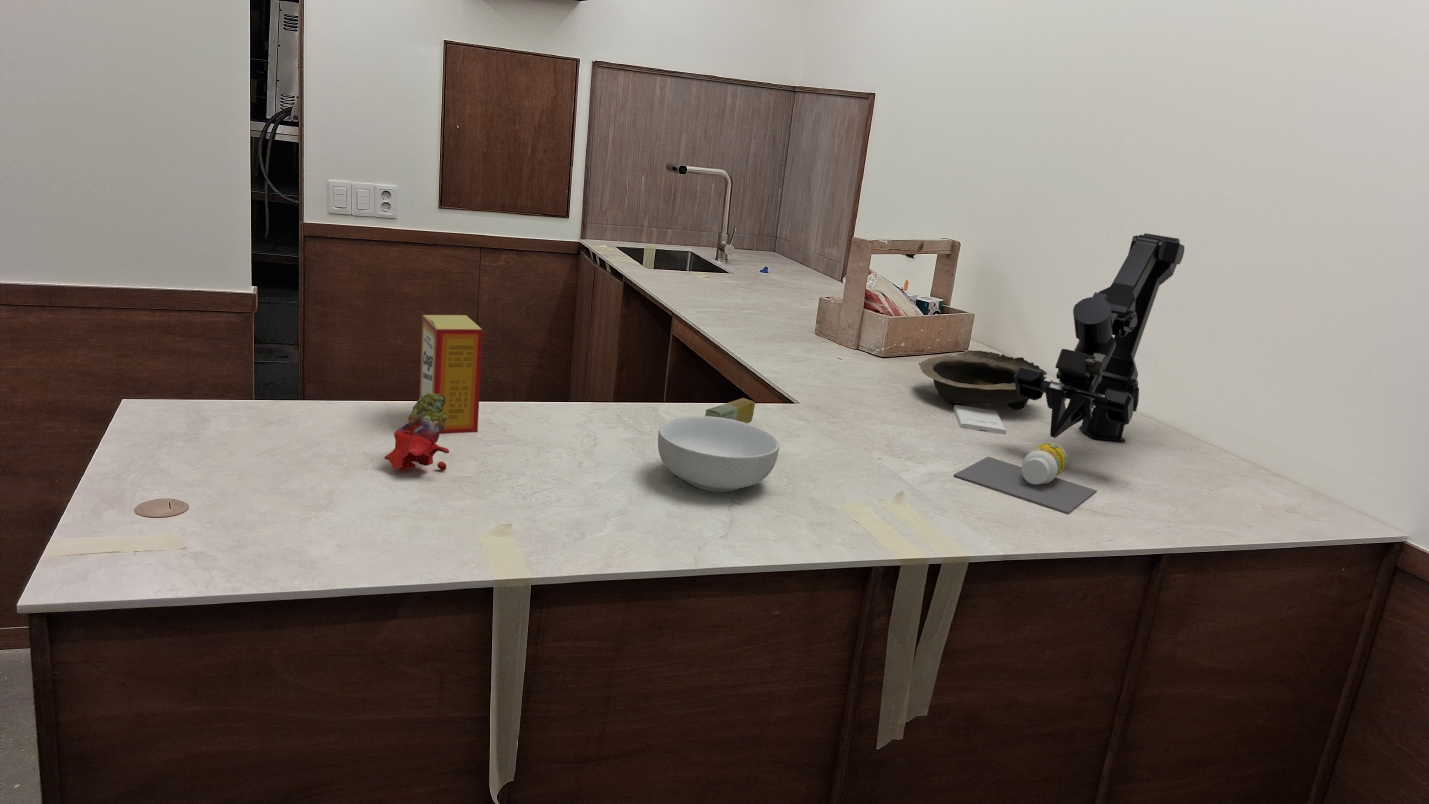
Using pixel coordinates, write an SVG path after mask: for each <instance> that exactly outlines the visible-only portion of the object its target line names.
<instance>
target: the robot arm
mask: <svg viewBox="0 0 1429 804" xmlns="http://www.w3.org/2000/svg"><path fill="white" fill-rule="evenodd" d="M1185 250H1186V249H1185V245H1183V244H1181V241H1180V238H1176V237H1171V236H1164V235H1158V234H1152V233H1147V232H1145V233H1143V234H1139V235H1138V234H1137V235H1133V236H1132V239H1131V243H1130V246H1129V249H1128V254H1127V256H1126V258H1125V259H1124V261H1123V263H1122V265H1121V267H1120V269H1119V270H1118V272H1117V274H1116V276H1115V277H1114V279H1113V281H1112V283H1111V285H1110V286H1108V287H1107V288H1104V289H1101V290H1099V291H1098V292H1096V291H1095V292H1094V293H1093V294H1092V296H1090V297H1086V298H1082V299H1080V301H1078V302H1077V303H1075V304H1074V306H1073V309H1072V315H1073V325H1074V333H1075V338H1076V339H1077V340H1078V341H1077V344H1076V345H1075V347H1074V350H1071V349H1066V348H1061V350H1060V352H1059V356H1058V359H1057V361H1056V364H1055V367H1054V368H1055V369H1057V371H1056V373H1055V375H1056V376H1055V377H1056V379H1058V380H1055V379H1050V380H1049V381H1048V380H1046V379H1045V380H1044V377H1045V375H1044V376H1043V371H1039V370H1035V369H1031V368H1027V367H1021V368H1019V369H1018V370H1017V372H1016V374H1015V376H1014V381H1015V386H1016V391H1017V394H1018V395H1019V396H1020V397H1024V398H1027V399H1029V400H1032V401H1037V400H1041V399H1042V397H1043V396H1044V394H1045V399H1046V406H1047V408H1048V409H1050V410H1051V418H1050V419H1051V420H1050V429H1049V430H1050V433H1049V435H1050V437H1052V438H1054V439H1056V438H1057V437H1059V436H1060V435H1062V434H1063V433H1064V432H1066V431H1067V430H1069V429H1070V428H1072V426H1074V425H1076V424H1078V423H1079V422H1081V421H1082V422H1081V425H1079V430H1081V431H1082V432H1083V433H1085V434H1086V435H1088V437H1090V438H1091V439H1094V440H1104V441H1114V442H1123V443H1125V442H1126V438H1125V437H1123V434H1124V433H1123V432H1124V428H1125V426H1126V425H1129V424H1130V421H1131V420H1132V418H1133V415H1134V412H1137V409H1138V406H1139V399H1140V398H1139V397H1140V387H1139V380H1138V377H1139V372H1138V369H1137V365H1136V360H1135V357H1136V354H1137V351H1138V348H1139V346H1140V342H1141V341H1142V340H1141V339H1142V337H1143V334H1144V331H1145V329H1146V327H1147V326H1146V325H1147V322H1148V320H1149V318H1150V314H1151V311H1152V308H1153V305H1154V302H1155V301H1156V297H1157V295H1158V291H1159V289H1160V286H1161V285H1163V284H1164V283H1165V282H1166V281H1167V280H1169V279H1170V278H1171V277H1172V276H1173V275H1174V273H1175V271H1176V268H1177V265H1178V266H1179V265H1180V264H1181V263H1182V261H1183V258H1184V256H1185V255H1184V254H1185ZM1067 400H1069V401H1068V404H1067V406H1066V402H1067Z"/></svg>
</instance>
